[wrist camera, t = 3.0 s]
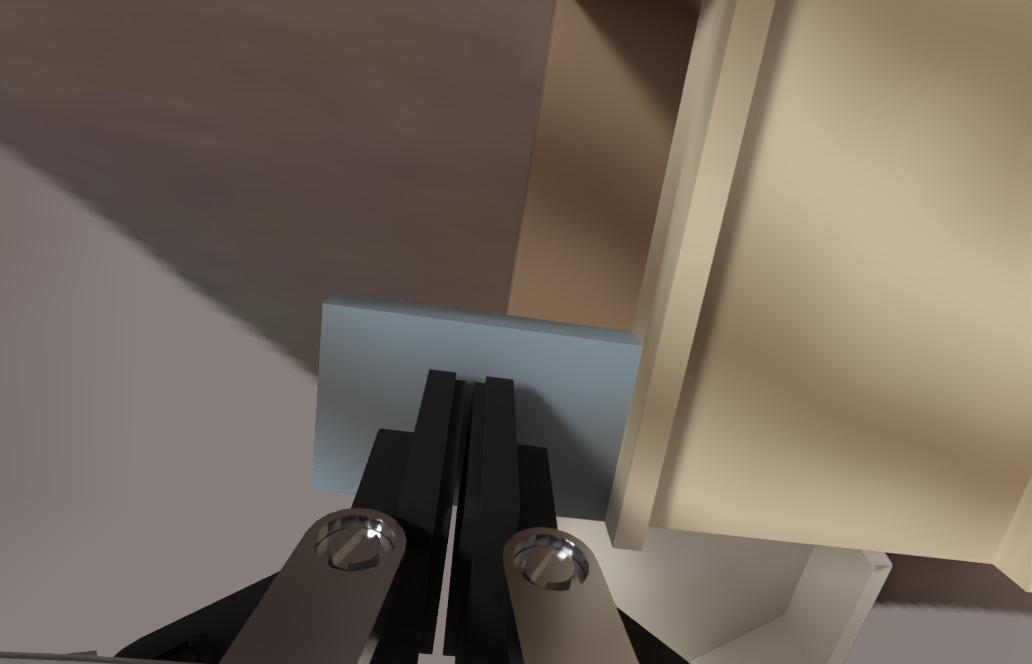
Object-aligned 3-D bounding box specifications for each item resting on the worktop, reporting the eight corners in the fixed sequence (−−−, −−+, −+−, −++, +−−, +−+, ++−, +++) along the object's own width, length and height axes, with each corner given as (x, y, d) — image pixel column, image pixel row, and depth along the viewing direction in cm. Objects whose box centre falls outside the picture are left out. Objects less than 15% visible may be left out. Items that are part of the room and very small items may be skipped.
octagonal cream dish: (495, 349, 21) (493, 405, 18) (875, 399, 23) (948, 461, 19) (450, 641, 27) (442, 730, 23) (759, 669, 28) (798, 758, 24)
